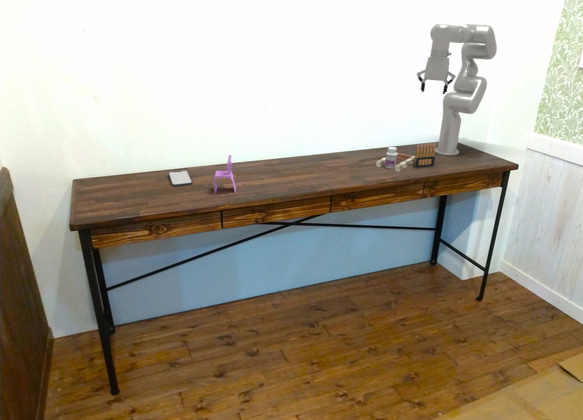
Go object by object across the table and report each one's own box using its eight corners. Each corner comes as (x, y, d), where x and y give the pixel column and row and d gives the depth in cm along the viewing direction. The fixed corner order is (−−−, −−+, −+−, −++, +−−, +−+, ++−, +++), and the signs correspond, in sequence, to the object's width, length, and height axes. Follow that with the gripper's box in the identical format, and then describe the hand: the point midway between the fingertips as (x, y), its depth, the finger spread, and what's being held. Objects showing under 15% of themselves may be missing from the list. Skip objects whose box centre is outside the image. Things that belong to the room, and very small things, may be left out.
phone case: (193, 186, 196) (187, 173, 210) (193, 182, 195) (187, 170, 209) (172, 188, 193) (168, 175, 207) (172, 185, 193) (167, 172, 206)
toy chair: (215, 186, 194) (213, 152, 188) (236, 186, 195) (234, 152, 189) (213, 193, 187) (211, 158, 181) (235, 193, 187) (234, 158, 181)
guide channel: (394, 156, 237) (394, 152, 236) (416, 161, 230) (416, 156, 229) (376, 166, 222) (376, 161, 221) (398, 171, 215) (399, 166, 214)
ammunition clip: (431, 165, 225) (435, 141, 220) (434, 166, 224) (437, 142, 219) (412, 166, 222) (416, 143, 217) (414, 168, 221) (418, 144, 216)
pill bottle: (389, 164, 225) (391, 145, 221) (398, 167, 221) (400, 148, 217) (382, 167, 221) (384, 147, 217) (391, 169, 218) (393, 150, 214)
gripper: (460, 55, 206) (453, 93, 212) (421, 52, 212) (416, 90, 219) (458, 56, 199) (451, 95, 206) (418, 53, 206) (413, 92, 212)
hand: (433, 92), depth 212 cm, fingers open, 9 cm apart
